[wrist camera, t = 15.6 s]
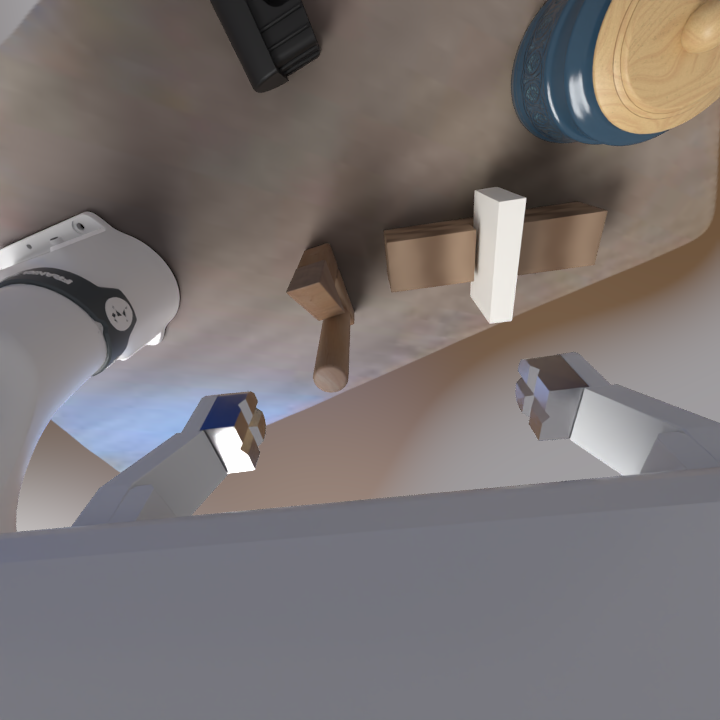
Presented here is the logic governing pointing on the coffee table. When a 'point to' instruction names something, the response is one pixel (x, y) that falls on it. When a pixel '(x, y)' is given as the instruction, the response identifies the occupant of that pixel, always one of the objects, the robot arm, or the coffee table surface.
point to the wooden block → (325, 314)
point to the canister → (616, 69)
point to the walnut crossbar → (458, 243)
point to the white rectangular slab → (497, 251)
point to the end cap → (268, 38)
